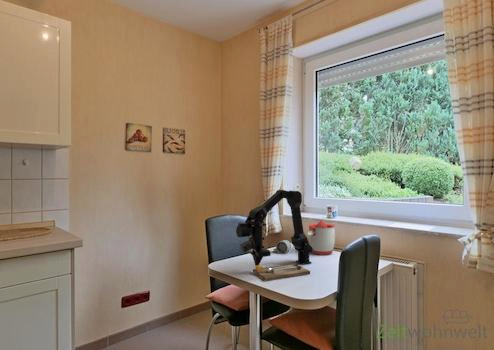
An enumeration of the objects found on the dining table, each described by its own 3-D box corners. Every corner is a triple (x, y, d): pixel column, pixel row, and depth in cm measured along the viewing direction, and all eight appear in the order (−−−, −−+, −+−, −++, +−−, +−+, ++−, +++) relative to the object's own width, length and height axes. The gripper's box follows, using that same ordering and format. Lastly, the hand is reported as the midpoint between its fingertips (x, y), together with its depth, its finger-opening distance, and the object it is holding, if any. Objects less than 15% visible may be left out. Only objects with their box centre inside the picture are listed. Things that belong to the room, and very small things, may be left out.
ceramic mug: (292, 251, 192) (291, 239, 192) (287, 254, 184) (287, 241, 184) (276, 250, 197) (275, 238, 197) (271, 253, 189) (271, 240, 189)
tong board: (252, 272, 152) (252, 265, 152) (294, 266, 161) (294, 260, 161) (265, 281, 139) (265, 274, 139) (310, 274, 148) (310, 267, 148)
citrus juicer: (301, 251, 191) (301, 219, 191) (323, 248, 199) (323, 217, 199) (317, 257, 177) (317, 223, 177) (340, 254, 184) (340, 221, 184)
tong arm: (265, 271, 147) (265, 267, 147) (296, 267, 154) (296, 263, 154) (267, 273, 145) (267, 269, 145) (298, 268, 152) (298, 264, 152)
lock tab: (255, 269, 151) (255, 265, 151) (260, 268, 151) (260, 264, 151) (258, 271, 148) (258, 267, 148) (262, 270, 149) (262, 266, 149)
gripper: (234, 233, 157) (235, 263, 157) (249, 240, 140) (249, 274, 140) (254, 231, 162) (254, 261, 162) (270, 238, 144) (271, 271, 144)
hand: (256, 266), depth 152 cm, fingers closed
